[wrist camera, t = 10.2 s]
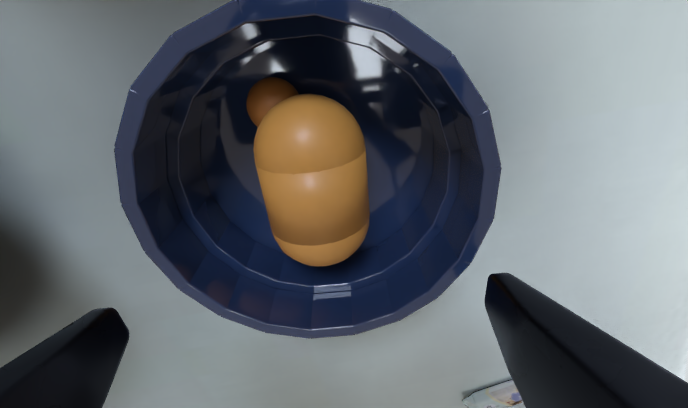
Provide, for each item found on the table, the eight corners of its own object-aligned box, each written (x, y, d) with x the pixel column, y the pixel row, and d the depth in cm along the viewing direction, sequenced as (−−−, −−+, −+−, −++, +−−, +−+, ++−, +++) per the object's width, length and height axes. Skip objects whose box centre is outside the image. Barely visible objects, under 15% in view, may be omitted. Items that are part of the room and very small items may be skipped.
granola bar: (468, 407, 26) (473, 421, 25) (459, 393, 25) (463, 406, 24) (551, 381, 25) (560, 395, 24) (545, 365, 24) (554, 378, 23)
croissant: (356, 65, 13) (365, 78, 9) (368, 236, 17) (378, 294, 13) (248, 76, 13) (212, 94, 10) (285, 243, 17) (270, 303, 14)
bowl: (463, -12, 12) (532, -37, 8) (445, 256, 19) (478, 324, 14) (134, 25, 13) (29, 20, 8) (224, 276, 19) (191, 349, 15)
